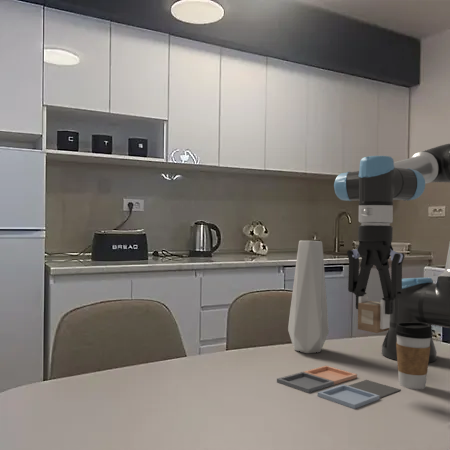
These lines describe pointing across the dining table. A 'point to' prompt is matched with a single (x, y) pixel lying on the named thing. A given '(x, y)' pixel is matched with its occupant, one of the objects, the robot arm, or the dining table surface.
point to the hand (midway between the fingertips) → (373, 325)
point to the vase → (309, 300)
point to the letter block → (369, 317)
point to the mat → (375, 388)
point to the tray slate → (348, 396)
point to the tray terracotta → (332, 374)
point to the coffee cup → (413, 353)
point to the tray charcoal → (305, 382)
